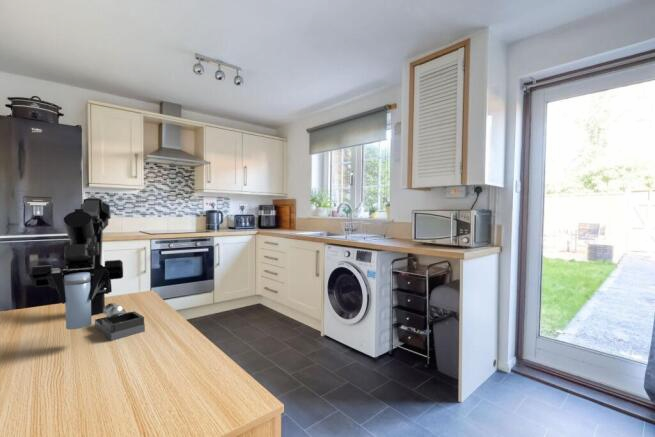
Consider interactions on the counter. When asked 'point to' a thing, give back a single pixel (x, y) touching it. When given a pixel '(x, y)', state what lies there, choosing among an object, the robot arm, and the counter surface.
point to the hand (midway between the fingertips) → (77, 301)
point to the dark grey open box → (119, 322)
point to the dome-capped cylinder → (77, 300)
